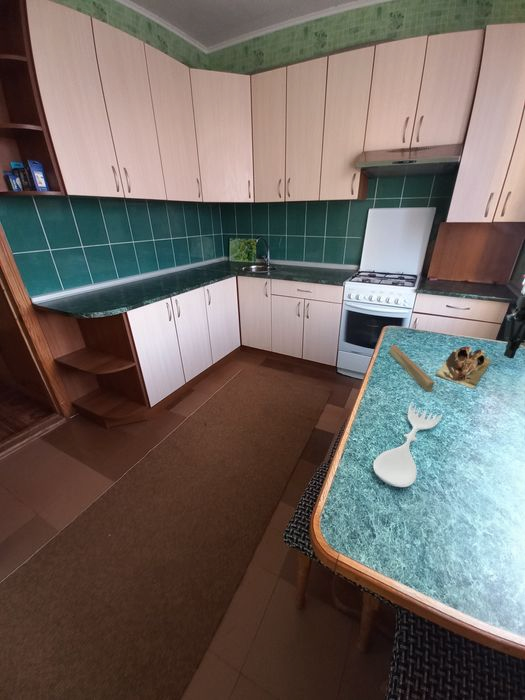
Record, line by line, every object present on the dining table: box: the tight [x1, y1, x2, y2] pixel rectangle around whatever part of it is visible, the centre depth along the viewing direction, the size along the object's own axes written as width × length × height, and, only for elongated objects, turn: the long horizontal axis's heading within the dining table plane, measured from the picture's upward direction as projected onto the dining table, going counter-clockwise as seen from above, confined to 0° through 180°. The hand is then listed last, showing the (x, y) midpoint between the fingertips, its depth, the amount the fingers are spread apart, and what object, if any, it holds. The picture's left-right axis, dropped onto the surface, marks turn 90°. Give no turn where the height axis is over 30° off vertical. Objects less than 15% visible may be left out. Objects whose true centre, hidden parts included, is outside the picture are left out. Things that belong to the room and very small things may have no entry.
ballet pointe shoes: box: [435, 346, 493, 389], centre depth 109 cm, size 14×7×28 cm
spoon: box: [372, 402, 443, 488], centre depth 74 cm, size 9×32×4 cm, turn 139°
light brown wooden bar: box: [389, 344, 435, 392], centre depth 108 cm, size 2×28×4 cm, turn 3°
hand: (508, 356), depth 109 cm, fingers closed
